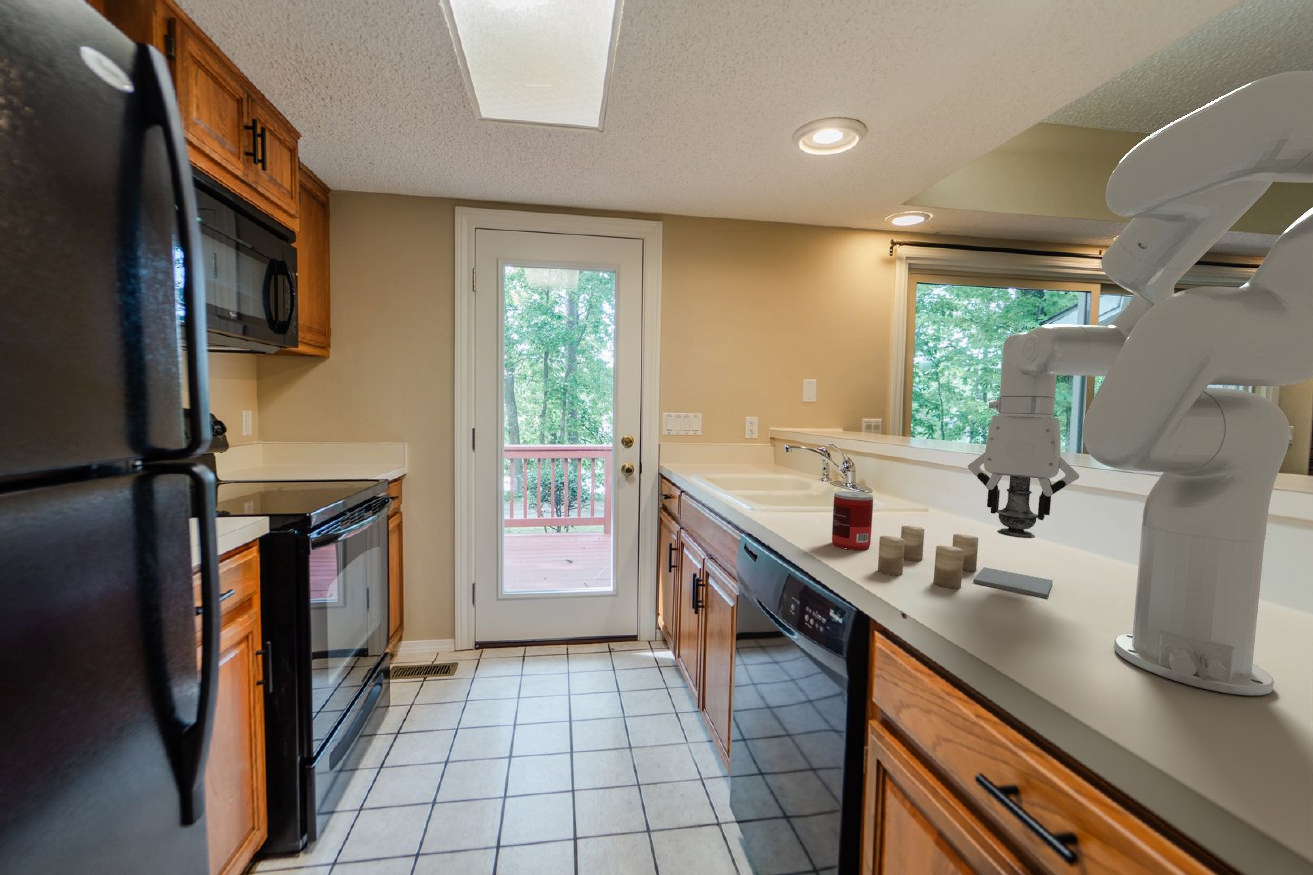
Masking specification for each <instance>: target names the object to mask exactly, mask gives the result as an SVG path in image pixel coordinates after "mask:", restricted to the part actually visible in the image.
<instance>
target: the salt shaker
mask: <svg viewBox="0 0 1313 875" xmlns="http://www.w3.org/2000/svg"><path fill="white" fill-rule="evenodd" d="M1008 487H1009V488H1006V491H1007V501H1006V504H1005V507H1004V508H1002V509H998V510H997V514H998V515H997V516H998V519H999V522H1000V523H1001V524H1002V526H1004V527H1003V528H999V529H998V530H997V531H996V532H997V533H998V534H999V535H1000V534H1001V535H1003V536H1007V537H1011V538H1018V539H1034V538H1036V536H1035V534H1033V533H1032V532H1030V531H1026V530H1029V529H1031V528H1033V527H1034V526H1035V524H1036V523H1037V519H1038V513H1037V514H1036V513H1034V512H1033V511H1032V510H1031V506H1030V499H1031V498H1030V497H1031V494H1032V493H1033V492H1032V490H1031V489H1030V488H1031V478H1028V477H1018V476H1009V485H1008ZM1005 527H1006V528H1005Z"/></svg>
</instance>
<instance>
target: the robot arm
mask: <svg viewBox="0 0 1313 875" xmlns="http://www.w3.org/2000/svg"><path fill="white" fill-rule="evenodd" d="M1273 182H1274V183H1300V184H1301V183H1308V184H1309V183H1310V184H1311V183H1312V184H1313V70H1292V71H1286V72H1284V71H1283V72H1280V73H1276V74H1273V75H1269V76H1266V77H1262V78H1260V79H1257V80H1255V81H1252V82H1249V83H1247V84H1245V85H1242V86H1241V87H1239V88H1237V89H1234V90H1233V91H1231V92H1229V93H1227V94H1225V95H1223V96H1221V97H1219V98H1217V99H1215V100H1214V101H1211V102H1210V103H1207V104H1206V105H1204V106H1202V107H1201V108H1198V109H1196V110H1194V111H1193V112H1190V113H1189V114H1187V115H1185V116H1183V117H1181V118H1179V119H1177V120H1175V121H1174V122H1170V124H1168V125H1165V126H1164V127H1163V128H1161V129H1159V130H1157V131H1156V132H1154V133H1152V134H1150V136H1147V137H1146V138H1145V139H1143V140H1142V141H1141V142H1139V143H1138V144H1137V145H1136V146H1134V147H1133V148H1132V149H1131V150H1130V151H1128V153H1126V154H1125V156H1124V157H1123V158H1122V159H1121V160H1120V161H1119V163H1118V164H1117V165H1116V167H1115V168H1114V170H1113V171H1112V173H1111V175H1110V177H1109V179H1108V182H1107V184H1106V188H1105V204H1106V206H1107V208H1108V209H1109V210H1110V211H1111V213H1113V214H1115V215H1117V216H1119V217H1123V218H1124V217H1125V218H1132V219H1131V220H1130V222H1129V223H1128V224H1127V225H1126V226H1125V227H1124V229H1123V230H1122V231H1121V232H1120V234H1118V236H1117V237H1116V238H1115V240H1114V241H1113V242H1112V244H1111V245H1110V246H1109V247H1108V248H1107V249H1106V251H1105V252H1104V254H1103V255H1102V258H1101V261H1100V264H1101V269H1102V270H1103V272H1104V273H1105V275H1106V277H1108V278H1109V280H1111V281H1113V283H1114V284H1116V285H1118V286H1119V287H1121V288H1123V289H1124V290H1126V291H1128V292H1130V293H1131V294H1133V295H1132V298H1131V300H1130V301H1129V303H1128V305H1126V307H1125V308H1124V309H1123V310H1122V312H1121V313H1120V314H1118V316H1117V317H1116V318H1115V319H1114V320H1113V321H1112V322H1110V323H1109V324H1108V325H1093V324H1091V325H1090V324H1089V325H1088V324H1087V325H1086V324H1056V323H1055V324H1044V325H1040V326H1037V327H1035V328H1033V329H1030V330H1029V331H1027V332H1019V333H1014V334H1012V335H1011V334H1010V335H1009V336H1007V337H1006V338H1005V340H1004V342H1003V348H1002V363H1001V374H1000V375H1001V376H1000V387H999V397H998V398H997V399H995V400H989V402H988V409H991V410H992V409H993V410H996V411H997V413H998V415H992V416H991V420H990V424H989V426H988V427H989V428H988V431H987V437H986V443H985V449H984V452H983V453H982V454H981V455H980V456H978V457H977V458H975V459H974V460H973V461H971V463H969V464H968V465H967V469H968V470H969V471H970V472H971V473H972V474H973V475H974V476H975V477H976V478H977V480H979V481H980V482H981V483H982V484H983V486H985V487H986V489H987V499H986V500H987V502H986V507H987V508H990V514H996V513H997V510H999V508H1000V506H999V504H1000V494H1001V493H1000V492H1001V490H1000V489H999V483H1000V480H1002V477H1003V476H1008V477H1010V476H1018V477H1028V478H1030V479H1037V480H1038V482H1039V485H1040V487H1041V490H1042V491H1041V494H1040V495H1039V497H1038V508H1037V515H1038V518H1037V519H1038V520H1039V521H1044V519H1045V516H1050V512H1051V503H1052V496H1053V495H1054V494H1056V493H1058V492H1059V491H1061V490H1062V489H1063V488H1065V487H1067V486H1068V485H1071V484H1072V483H1074V482H1075V481H1076V480H1078V479H1079V478H1080V474H1079V473H1078V472H1077V471H1076V470H1075V469H1074V468H1073V467H1072V466H1071V465H1070V464H1069V463H1068V462H1067V461H1066V460H1065V459H1063V457H1062V456H1061V451H1062V449H1061V426H1060V419H1059V417H1054V412H1055V399H1056V390H1057V388H1056V387H1057V377H1058V376H1075V377H1076V376H1077V377H1080V376H1084V377H1104V378H1103V380H1102V382H1101V384H1100V386H1099V387H1098V389H1097V391H1096V393H1095V395H1094V397H1093V398H1092V401H1091V402H1090V404H1089V406H1088V409H1087V410H1086V411H1087V412H1086V414H1085V416H1084V420H1083V425H1082V439H1083V444H1084V447H1085V449H1086V451H1087V453H1088V454H1089V455H1090V456H1091V458H1092V459H1094V460H1095V461H1097V462H1098V463H1100V464H1101V465H1104V466H1106V467H1109V468H1112V469H1115V470H1120V471H1132V472H1148V473H1149V472H1151V473H1152V472H1153V473H1161V475H1160V476H1159V479H1157V481H1156V482H1155V483H1154V485H1153V487H1152V488H1151V490H1150V492H1149V494H1147V497H1146V500H1145V503H1144V507H1143V514H1142V522H1141V529H1140V543H1139V552H1138V553H1139V554H1138V556H1139V557H1138V568H1137V578H1136V588H1135V590H1136V591H1135V600H1134V601H1135V602H1134V614H1133V615H1134V616H1133V625H1132V626H1133V627H1132V633H1127V634H1125V633H1124V634H1121V635H1118V636H1117V637H1115V639H1114V642H1113V643H1114V644H1113V645H1114V646H1113V648H1114V650H1115V652H1116V653H1117V654H1118V655H1119V657H1122V658H1123V659H1125V660H1126V661H1128V662H1130V663H1131V664H1133V665H1134V666H1137V667H1138V668H1141V669H1143V670H1145V671H1148V672H1149V673H1152V674H1155V675H1158V676H1160V677H1163V678H1166V679H1169V680H1172V681H1175V682H1178V683H1181V684H1184V685H1189V686H1192V687H1196V688H1200V689H1205V690H1209V691H1214V692H1218V693H1225V694H1229V695H1230V694H1231V695H1239V696H1249V697H1250V696H1251V697H1252V696H1263V695H1264V696H1265V695H1269V694H1271V693H1272V692H1274V691H1273V690H1274V684H1275V680H1274V678H1273V677H1272V675H1271V674H1270V673H1268V672H1267V671H1266V670H1265V669H1263V668H1262V667H1260V666H1257V665H1256V664H1254V663H1253V662H1254V652H1255V642H1256V635H1257V634H1256V632H1257V622H1258V614H1259V612H1258V611H1259V610H1258V609H1259V603H1260V602H1259V600H1260V592H1261V582H1262V581H1261V580H1262V573H1263V571H1262V570H1263V569H1262V568H1263V561H1264V550H1265V540H1266V534H1267V526H1268V525H1267V524H1268V518H1269V517H1268V516H1269V509H1270V504H1271V498H1272V493H1273V490H1274V486H1275V482H1276V480H1277V477H1278V475H1279V471H1280V470H1281V467H1282V464H1283V462H1284V460H1285V457H1286V456H1287V451H1288V449H1289V446H1290V440H1291V427H1290V424H1289V420H1288V418H1287V416H1286V414H1285V413H1284V412H1283V410H1282V409H1281V408H1280V407H1279V405H1277V404H1276V403H1274V402H1273V401H1272V400H1270V399H1268V398H1267V397H1264V396H1263V395H1260V394H1258V393H1255V392H1250V391H1246V390H1242V389H1237V388H1227V387H1211V386H1232V387H1233V386H1234V387H1235V386H1236V387H1237V386H1238V387H1239V386H1240V387H1282V386H1285V387H1286V386H1291V385H1296V384H1300V383H1304V382H1306V381H1308V380H1311V379H1313V207H1312V208H1310V209H1309V210H1308V211H1306V212H1305V213H1304V214H1303V215H1301V216H1300V217H1299V218H1298V219H1297V220H1295V221H1294V222H1293V223H1292V224H1291V225H1290V226H1289V227H1288V228H1287V229H1285V231H1284V232H1283V233H1282V234H1281V235H1280V236H1279V237H1278V238H1277V239H1276V241H1275V242H1274V243H1273V245H1272V246H1271V248H1270V250H1269V251H1268V253H1267V254H1266V256H1265V257H1264V259H1263V261H1262V263H1260V265H1259V267H1257V269H1256V271H1255V272H1254V273H1253V275H1251V277H1250V278H1249V280H1247V281H1246V283H1245V284H1243V285H1241V286H1239V287H1236V286H1202V287H1201V286H1199V287H1192V288H1188V289H1184V290H1180V291H1177V292H1175V286H1176V284H1177V283H1178V281H1179V280H1180V279H1181V278H1182V277H1183V276H1184V275H1185V274H1186V273H1187V272H1188V271H1189V270H1190V269H1191V268H1192V267H1193V266H1194V265H1195V264H1196V263H1197V262H1199V260H1200V259H1201V258H1202V257H1203V256H1204V255H1205V254H1206V253H1207V252H1209V250H1210V249H1211V248H1212V247H1213V246H1214V245H1215V244H1216V243H1217V242H1218V241H1219V240H1220V239H1221V238H1222V237H1223V235H1225V234H1226V233H1227V231H1229V230H1230V229H1231V227H1233V225H1235V224H1236V223H1237V222H1238V221H1239V219H1240V218H1242V217H1243V216H1244V214H1245V213H1247V211H1249V209H1250V208H1251V207H1252V206H1253V205H1254V204H1255V203H1256V202H1257V201H1258V199H1260V198H1261V197H1262V196H1263V195H1264V194H1265V193H1266V192H1267V190H1268V189H1269V188H1270V186H1271V185H1272V184H1273ZM1209 386H1210V387H1209ZM982 465H983V468H984V470H985V471H986V472H988V473H990V474H991V476H989V475H988V474H987V473H986V472H985V471H983V469H982V468H981V466H982ZM1060 470H1061V471H1062V472H1063V473H1064V474H1065V475H1064V477H1062V478H1060V479H1058V480H1057V481H1055V482H1054V483H1053V484H1052V482H1051V481H1052V480H1051V479H1052V478H1054V477H1056V476H1057V475H1058V474H1059V472H1060ZM997 514H998V513H997Z"/></svg>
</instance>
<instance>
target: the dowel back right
mask: <svg viewBox="0 0 1313 875" xmlns="http://www.w3.org/2000/svg"><path fill="white" fill-rule="evenodd" d="M951 545H952V546H951V547H956V548H960V549H962V550H964V557H963V569H962V572H967V573H974V572H977V567H978V566H977V564H978V550H979V548H978V547H979V537H978V536H975V535H972V534H965V533H954V534H952V544H951Z"/></svg>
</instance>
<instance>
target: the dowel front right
mask: <svg viewBox="0 0 1313 875" xmlns="http://www.w3.org/2000/svg"><path fill="white" fill-rule="evenodd" d="M963 557H964V550H962V549H960V548H956V547H952V546H951V545H936V546H935V558H934V559H935V560H934V569H933V570H934V571H933V573H934V574H933V584H935V585H937V586H939V587H942V588H946V589H953V590H954V589H955V590H958V589H961V588H962V581H963V580H962V579H963V571H962V569H963Z"/></svg>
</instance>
